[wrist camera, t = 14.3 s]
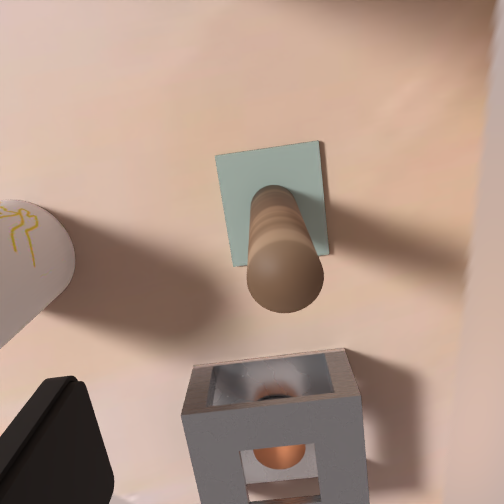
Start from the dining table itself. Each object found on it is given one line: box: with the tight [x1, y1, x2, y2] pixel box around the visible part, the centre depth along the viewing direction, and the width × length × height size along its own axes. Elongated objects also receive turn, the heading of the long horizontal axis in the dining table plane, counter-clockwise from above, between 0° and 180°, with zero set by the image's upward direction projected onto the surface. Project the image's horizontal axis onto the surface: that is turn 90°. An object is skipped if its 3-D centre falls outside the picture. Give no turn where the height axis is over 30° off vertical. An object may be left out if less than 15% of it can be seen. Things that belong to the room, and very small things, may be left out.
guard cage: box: [181, 348, 370, 504], centre depth 34 cm, size 12×12×6 cm
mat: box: [215, 141, 329, 267], centre depth 31 cm, size 8×7×1 cm
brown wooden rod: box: [247, 185, 324, 313], centre depth 24 cm, size 3×3×13 cm
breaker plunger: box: [253, 444, 306, 469], centre depth 34 cm, size 4×4×2 cm
